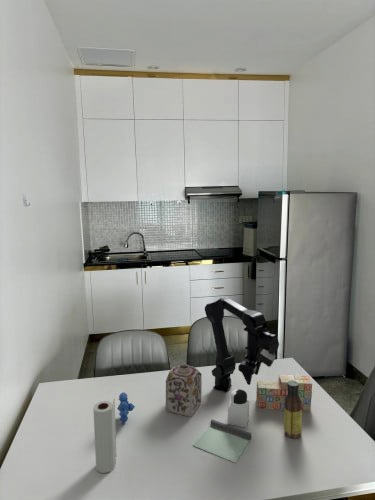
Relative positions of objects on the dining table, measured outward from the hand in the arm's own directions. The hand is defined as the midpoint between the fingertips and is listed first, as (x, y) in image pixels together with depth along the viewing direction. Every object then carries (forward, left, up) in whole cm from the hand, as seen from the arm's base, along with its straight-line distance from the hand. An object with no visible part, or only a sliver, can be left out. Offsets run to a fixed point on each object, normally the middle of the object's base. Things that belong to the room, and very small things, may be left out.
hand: (252, 379), depth 148 cm
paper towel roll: (-28, -56, -12) cm, 64 cm away
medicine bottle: (-1, -12, -12) cm, 17 cm away
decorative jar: (-24, -15, -12) cm, 31 cm away
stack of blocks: (+11, +7, -12) cm, 18 cm away
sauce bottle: (+19, -9, -12) cm, 24 cm away
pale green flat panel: (-1, -27, -12) cm, 30 cm away
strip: (-1, -20, -12) cm, 23 cm away
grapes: (-38, -35, -12) cm, 53 cm away
